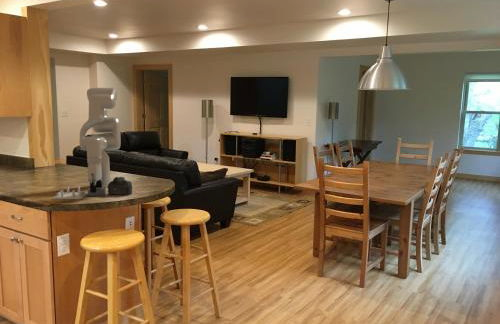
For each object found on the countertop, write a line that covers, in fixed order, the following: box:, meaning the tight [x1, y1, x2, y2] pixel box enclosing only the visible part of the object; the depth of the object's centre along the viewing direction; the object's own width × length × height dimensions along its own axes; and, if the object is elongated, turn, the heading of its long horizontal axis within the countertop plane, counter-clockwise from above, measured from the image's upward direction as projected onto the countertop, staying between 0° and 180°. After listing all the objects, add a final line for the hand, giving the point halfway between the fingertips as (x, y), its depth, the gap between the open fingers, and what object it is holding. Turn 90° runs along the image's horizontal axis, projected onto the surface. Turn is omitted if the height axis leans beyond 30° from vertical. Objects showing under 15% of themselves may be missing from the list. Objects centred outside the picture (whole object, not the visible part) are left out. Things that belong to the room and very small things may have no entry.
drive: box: [86, 187, 107, 197], centre depth 232 cm, size 5×9×4 cm, turn 103°
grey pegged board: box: [52, 186, 88, 200], centre depth 228 cm, size 12×15×4 cm
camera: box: [107, 176, 133, 196], centre depth 235 cm, size 13×10×10 cm
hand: (96, 190), depth 231 cm, fingers open, 9 cm apart
